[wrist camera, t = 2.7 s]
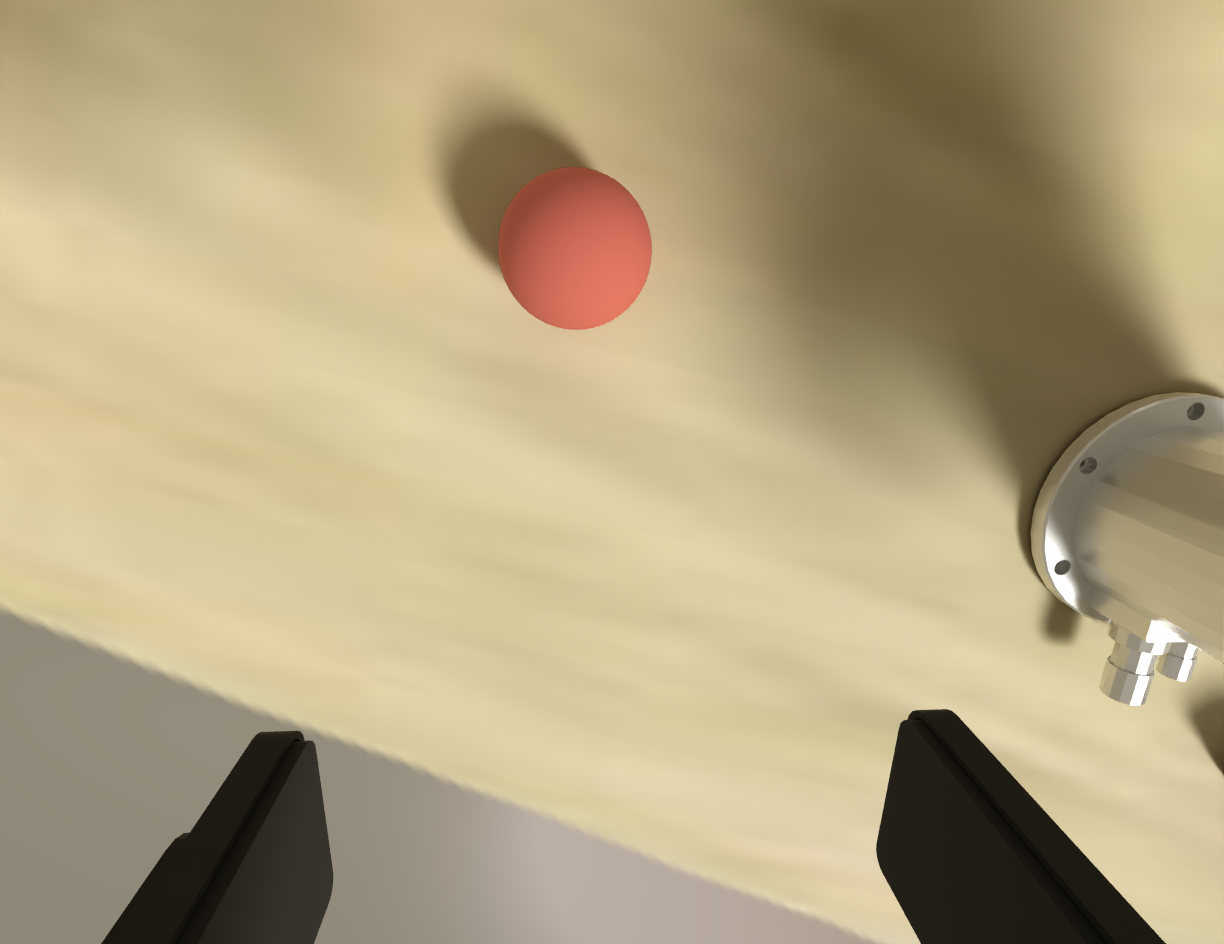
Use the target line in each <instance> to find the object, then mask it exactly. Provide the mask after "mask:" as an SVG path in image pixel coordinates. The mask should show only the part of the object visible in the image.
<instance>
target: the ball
mask: <svg viewBox="0 0 1224 944" xmlns="http://www.w3.org/2000/svg"><path fill="white" fill-rule="evenodd" d="M498 254H499V262H500V266H501V271H502V274H503V276H504V279H505V282H506V284H507V286H508V288H509V290H510V291H511V293H512V294H513V296H514V297H515V299H516V300H517V301H518V302H519V303H520V304H521V306H522V307H523V308H525V309H526V310H527V311H528V312H529V313H530V314H532V315H533V316H535V317H536V318H537V319H539V320H541V321H543V322H545V323H547V324H550V325H552V326H555V327H559V328H564V329H573V330H579V329H589V328H594V327H597V326H600V325H603V324H605V323H607V322H610V321H612V320H613V319H615V318H616V317H618V316H619V315H621V314H622V313H623V312H624V311H625V310H627V309H628V308H629V307H630V305H631V304H632V303H633V302H634V301H635V299H636V298H637V296H638V295H639V294H640V292H641V290H642V288H643V286H644V284H645V282H646V279H647V276H648V273H649V268H650V264H651V254H652V248H651V237H650V231H649V227H648V224H647V221H646V218H645V216H644V213H643V211H642V210H641V208H640V206H639V204H638V203H637V201H636V200H635V199H634V197H633V196H632V195H631V193H630V192H629V191H628V190H627V189H626V188H625V187H624V186H622V185H621V184H620V183H619V182H617V181H616V180H615V179H613V178H611V177H609V176H608V175H606V174H603V173H601V172H598V171H596V170H592V169H588V168H581V167H564V168H559V169H554V170H551V171H548V172H545V173H543V174H541V175H539V176H538V177H536V178H534V179H533V180H531V181H530V182H529V183H527V184H526V185H525V186H524V187H523V188H522V189H521V190H520V191H519V192H518V193H517V194H516V196H515V197H514V198H513V200H512V201H511V203H510V204H509V206H508V208H507V210H506V212H505V215H504V217H503V220H502V223H501V227H500V232H499V238H498Z"/></svg>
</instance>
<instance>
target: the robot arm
mask: <svg viewBox="0 0 1224 944" xmlns="http://www.w3.org/2000/svg"><path fill="white" fill-rule="evenodd" d="M1031 548H1032V555H1033V559H1034V562H1035V565H1036V569H1037V572H1038V574H1039V575H1040V577H1041V579H1042V580H1043V582H1044V584H1045V586H1046V587H1047V588H1048V589H1049V590H1050V591H1051V592H1052V593H1053V594H1054V595H1055V596H1056V597H1057V598H1058V599H1059V600H1060V601H1061V602H1063V603H1064V604H1066V605H1067V606H1069V607H1070V608H1072V609H1073V610H1075V611H1076V612H1078V613H1080V614H1082V615H1084V616H1086V617H1088V618H1090V619H1092V620H1094V621H1098V622H1103V623H1107V624H1110V625H1109V628H1108V635H1109V636H1110V637H1111V638H1112V639H1113V640H1114V641H1115V644H1114V647H1113V650H1112V654H1111V655H1110V656H1109V657H1108V658H1107V661H1106V664H1105V668H1104V671H1103V675H1102V678H1101V682H1100V685H1099V687H1100V689H1101V691H1102V692H1103V693H1104V694H1106V695H1107V696H1108V697H1110V698H1112V699H1114V700H1116V701H1118V702H1121V703H1125V704H1129V705H1142V704H1144V703H1145V701H1146V698H1147V695H1148V692H1149V689H1150V686H1151V682H1152V679H1153V676H1154V670H1153V667H1154V664H1155V661H1156V658H1157V655H1158V654H1160V657H1159V660H1158V663H1157V666H1156V670H1157V671H1158V672H1159V673H1160V674H1162V675H1164V676H1166V677H1168V678H1171V679H1175V680H1179V681H1188V680H1190V678H1191V675H1192V672H1193V669H1194V666H1195V663H1196V660H1197V656H1196V655H1197V652H1198V649H1200V650H1202V651H1203V652H1205V653H1207V654H1208V655H1210V656H1212V657H1214V658H1215V659H1217V660H1219V661H1220V662H1222V663H1224V398H1221V397H1216V396H1210V395H1205V394H1200V393H1186V392H1173V393H1166V394H1159V395H1153V396H1150V397H1146V398H1143V399H1140V400H1137V401H1134V402H1131V403H1129V404H1127V405H1125V406H1123V407H1121V408H1119V409H1117V410H1115V411H1113V412H1111V413H1109V414H1107V415H1106V416H1104V417H1103V418H1102V419H1100V420H1099V421H1097V422H1096V423H1095V424H1093V425H1092V426H1091V427H1089V428H1088V429H1086V430H1085V431H1084V432H1083V433H1082V434H1081V435H1080V436H1079V437H1078V438H1077V439H1076V440H1075V441H1074V442H1073V443H1072V444H1071V445H1070V446H1069V447H1068V448H1067V449H1066V451H1065V452H1064V453H1063V454H1062V456H1061V457H1060V458H1059V460H1058V461H1057V462H1056V464H1055V465H1054V466H1053V468H1052V469H1051V471H1050V473H1049V475H1048V477H1047V479H1046V481H1045V483H1044V485H1043V486H1042V488H1041V490H1040V493H1039V496H1038V499H1037V502H1036V505H1035V508H1034V511H1033V518H1032V526H1031ZM876 851H877V858H878V862H879V865H880V868H881V870H882V873H883V875H884V876H885V878H886V880H887V882H888V884H889V886H890V887H891V889H892V891H893V893H894V895H895V897H896V898H897V900H898V902H899V904H900V906H901V908H902V909H903V911H904V913H905V915H906V917H907V919H908V920H909V922H910V924H911V926H912V928H913V930H914V931H915V933H916V935H917V937H918V939H919V941H920V942H921V944H1166V943H1165V942H1164V941H1163V940H1162V939H1161V938H1160V937H1159V936H1158V935H1157V934H1156V932H1155V931H1154V930H1153V929H1152V928H1151V927H1150V926H1149V925H1148V924H1147V923H1146V921H1145V920H1144V919H1143V918H1142V917H1141V916H1140V915H1139V914H1138V913H1137V912H1136V911H1135V909H1134V908H1133V907H1132V906H1131V905H1130V904H1129V903H1128V902H1127V901H1126V900H1125V899H1124V897H1123V896H1122V895H1121V894H1120V893H1119V892H1118V891H1117V890H1116V889H1115V888H1114V886H1113V885H1112V884H1111V883H1110V882H1109V881H1108V880H1107V879H1106V878H1105V877H1104V876H1103V874H1102V873H1101V872H1100V871H1099V870H1098V869H1097V868H1096V867H1095V866H1094V865H1093V864H1092V862H1091V861H1090V860H1089V859H1088V858H1087V857H1086V856H1085V855H1084V854H1083V853H1082V851H1081V850H1080V849H1079V848H1078V847H1077V846H1076V845H1075V844H1074V843H1073V842H1072V841H1071V839H1070V838H1069V837H1068V836H1067V835H1066V834H1065V833H1064V832H1063V831H1062V830H1061V829H1060V827H1059V826H1058V825H1057V824H1056V823H1055V822H1054V821H1053V820H1052V819H1051V818H1050V816H1049V815H1048V814H1047V813H1046V812H1045V811H1044V810H1043V809H1042V808H1041V807H1040V806H1039V804H1038V803H1037V802H1036V801H1035V800H1034V799H1033V798H1032V797H1031V796H1030V795H1029V794H1028V792H1027V791H1026V790H1025V789H1024V788H1023V787H1022V786H1021V785H1020V784H1019V783H1018V781H1017V780H1016V779H1015V778H1014V777H1013V776H1012V775H1011V774H1010V773H1009V772H1008V771H1007V769H1006V768H1005V767H1004V766H1003V765H1002V764H1001V763H1000V762H999V761H998V760H997V759H996V757H995V756H994V755H993V754H992V753H991V752H990V751H989V750H988V749H987V748H986V746H985V745H984V744H983V743H982V742H981V741H980V740H979V739H978V738H977V737H976V736H975V734H974V733H973V732H972V731H971V730H970V729H969V728H968V727H967V726H966V725H965V724H964V722H963V721H962V720H961V719H960V718H959V717H958V716H957V715H956V714H955V713H954V712H952V711H950V710H947V709H942V710H916V711H912V712H911V714H910V715H909V717H908V720H904V721H902V722H901V724H900V727H899V731H898V736H897V742H896V747H895V752H894V757H893V762H892V767H891V773H890V778H889V783H888V788H887V793H886V798H885V803H884V809H883V814H882V819H881V824H880V829H879V834H878V840H877V846H876ZM332 886H333V869H332V862H331V854H330V847H329V840H328V833H327V825H326V819H325V811H324V804H323V797H322V789H321V783H320V775H319V769H318V761H317V754H316V747H315V744H314V742H313V741H304V737H303V734H302V733H301V732H299V731H280V732H260V733H258V734H257V735H256V736H255V737H254V738H253V739H252V741H251V742H250V744H249V746H248V747H247V748H246V750H245V751H244V753H243V754H242V756H241V757H240V759H239V761H238V762H237V763H236V765H235V766H234V768H233V769H232V771H231V772H230V774H229V775H228V777H227V778H226V780H225V781H224V783H223V784H222V786H221V787H220V789H219V790H218V792H217V793H216V795H215V796H214V798H213V799H212V801H211V802H210V804H209V805H208V807H207V808H206V810H205V811H204V813H203V814H202V816H201V817H200V819H199V820H198V822H197V823H196V825H195V826H194V828H193V829H192V830H191V832H190V833H183V834H182V835H181V836H179V837H178V838H176V839H175V840H174V841H173V842H172V844H171V845H170V846H169V847H168V849H166V851H165V852H164V854H163V855H162V857H161V858H160V860H159V861H158V862H157V864H156V865H155V867H154V868H153V870H152V871H151V873H150V874H149V875H148V877H147V878H146V880H145V881H144V883H143V884H142V886H141V887H140V888H139V890H138V891H137V893H136V894H135V896H134V897H133V899H132V900H131V902H130V903H129V904H128V906H127V907H126V909H125V910H124V912H123V913H122V915H121V916H120V918H119V919H118V920H117V922H116V923H115V925H114V926H113V928H112V929H111V930H110V932H109V933H108V935H107V936H106V938H105V939H104V941H103V942H102V943H101V944H314V942H315V939H316V936H317V933H318V931H319V928H320V925H321V923H322V919H323V917H324V914H325V911H326V909H327V907H328V904H329V900H330V897H331V892H332Z"/></svg>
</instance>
